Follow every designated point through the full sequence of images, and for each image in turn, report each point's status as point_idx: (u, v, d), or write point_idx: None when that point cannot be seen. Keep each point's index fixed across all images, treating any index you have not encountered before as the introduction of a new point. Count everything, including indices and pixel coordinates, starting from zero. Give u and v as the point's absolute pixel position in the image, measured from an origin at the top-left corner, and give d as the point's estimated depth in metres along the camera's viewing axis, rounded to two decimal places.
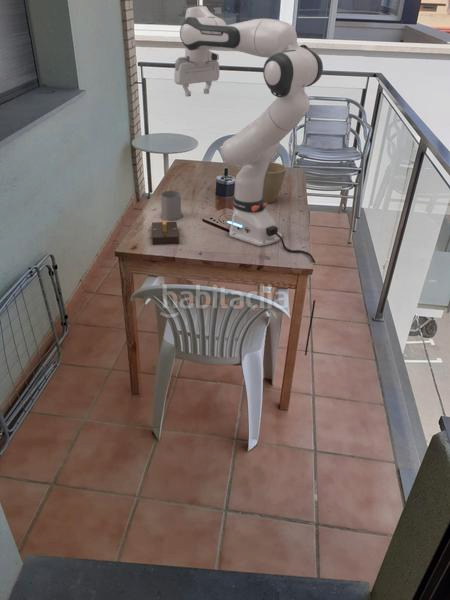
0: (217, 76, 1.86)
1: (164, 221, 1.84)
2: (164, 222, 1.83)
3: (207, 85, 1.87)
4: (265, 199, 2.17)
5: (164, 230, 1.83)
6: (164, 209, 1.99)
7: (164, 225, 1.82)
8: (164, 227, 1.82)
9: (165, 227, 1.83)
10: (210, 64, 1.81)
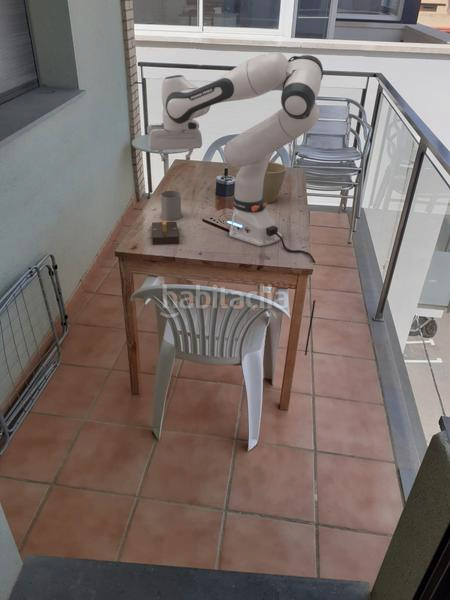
0: (199, 144, 1.79)
1: (164, 221, 1.84)
2: (164, 222, 1.83)
3: (189, 151, 1.81)
4: (265, 199, 2.17)
5: (164, 230, 1.83)
6: (164, 209, 1.99)
7: (164, 225, 1.82)
8: (164, 227, 1.82)
9: (165, 227, 1.83)
10: (188, 132, 1.74)
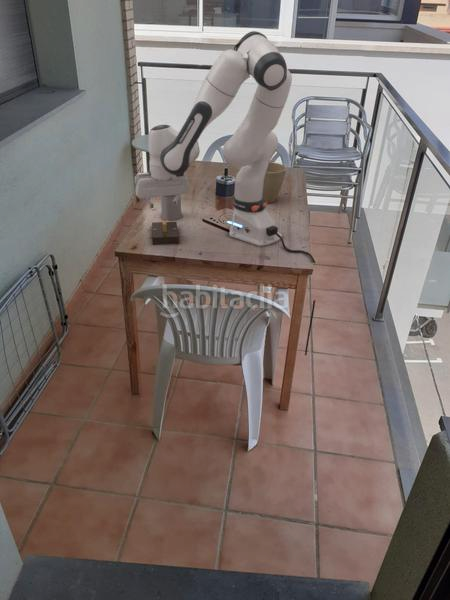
0: (186, 190, 1.79)
1: (164, 221, 1.84)
2: (164, 222, 1.83)
3: (176, 197, 1.81)
4: (265, 199, 2.17)
5: (164, 230, 1.83)
6: (164, 209, 1.99)
7: (164, 225, 1.82)
8: (164, 227, 1.82)
9: (165, 227, 1.83)
10: (175, 179, 1.74)
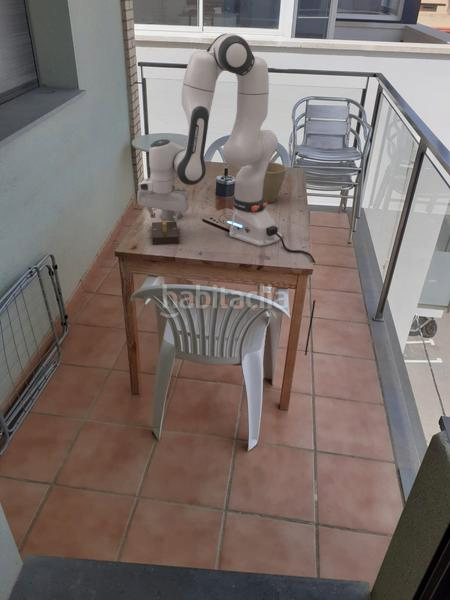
0: None
1: (164, 221, 1.84)
2: (164, 222, 1.83)
3: (150, 210, 1.83)
4: (265, 199, 2.17)
5: (164, 230, 1.83)
6: None
7: (164, 225, 1.82)
8: (164, 227, 1.82)
9: (165, 227, 1.83)
10: None
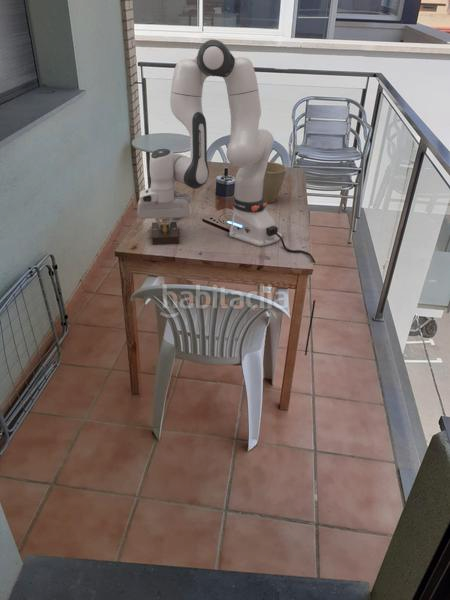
0: None
1: (164, 221, 1.84)
2: (164, 222, 1.83)
3: (158, 221, 1.83)
4: (265, 199, 2.17)
5: (164, 230, 1.83)
6: None
7: (164, 225, 1.82)
8: (164, 227, 1.82)
9: (165, 227, 1.83)
10: None
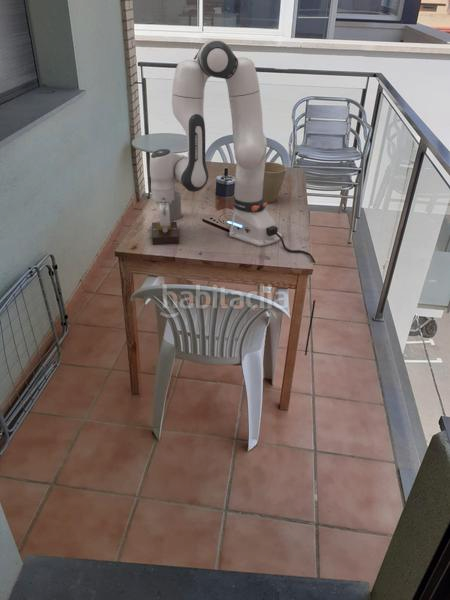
0: None
1: None
2: None
3: None
4: (265, 199, 2.17)
5: (158, 227, 1.85)
6: None
7: (158, 223, 1.84)
8: (158, 225, 1.84)
9: (158, 225, 1.84)
10: None
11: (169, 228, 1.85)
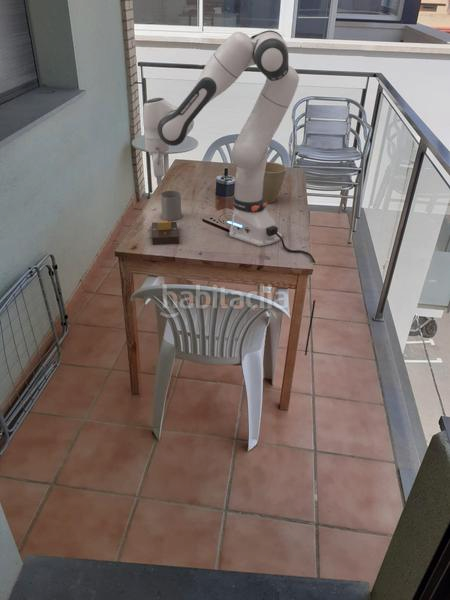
0: None
1: (164, 221, 1.84)
2: (162, 221, 1.84)
3: None
4: (265, 199, 2.17)
5: (158, 227, 1.85)
6: (164, 209, 1.99)
7: (158, 223, 1.84)
8: (158, 225, 1.84)
9: (158, 225, 1.84)
10: None
11: (169, 228, 1.85)
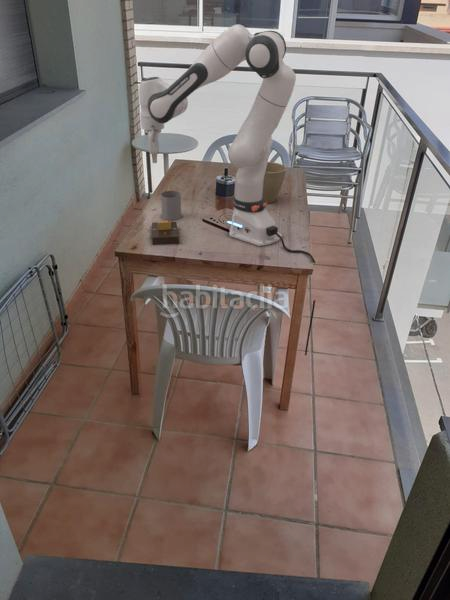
0: None
1: (164, 221, 1.84)
2: (162, 221, 1.84)
3: None
4: (265, 199, 2.17)
5: (158, 227, 1.85)
6: (164, 209, 1.99)
7: (158, 223, 1.84)
8: (158, 225, 1.84)
9: (158, 225, 1.84)
10: None
11: (169, 228, 1.85)
